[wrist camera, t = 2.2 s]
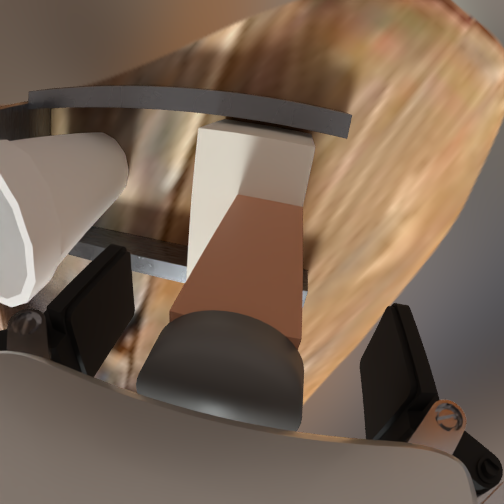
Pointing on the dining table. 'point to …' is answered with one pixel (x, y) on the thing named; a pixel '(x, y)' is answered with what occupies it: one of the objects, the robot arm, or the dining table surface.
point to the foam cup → (51, 203)
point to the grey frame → (165, 98)
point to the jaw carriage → (239, 281)
